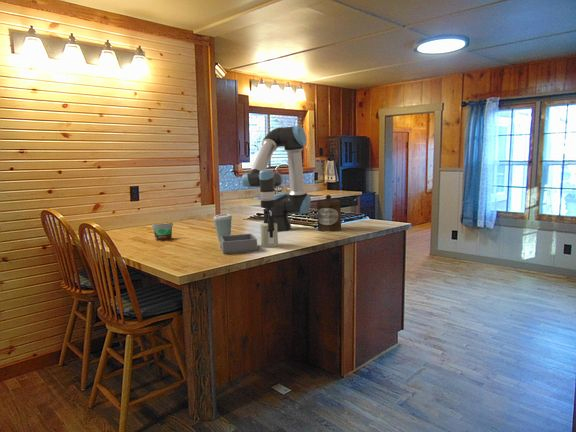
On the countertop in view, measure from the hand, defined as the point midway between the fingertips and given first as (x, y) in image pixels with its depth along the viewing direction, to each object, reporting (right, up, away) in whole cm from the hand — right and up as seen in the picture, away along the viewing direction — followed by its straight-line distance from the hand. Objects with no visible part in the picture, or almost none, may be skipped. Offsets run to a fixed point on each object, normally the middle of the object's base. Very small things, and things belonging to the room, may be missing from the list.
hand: (269, 241), depth 219 cm
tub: (-16, -3, -6) cm, 17 cm away
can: (0, -2, 0) cm, 2 cm away
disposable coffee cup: (-27, -1, +18) cm, 33 cm away
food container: (-64, -1, +27) cm, 70 cm away
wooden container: (+36, +5, +41) cm, 55 cm away
